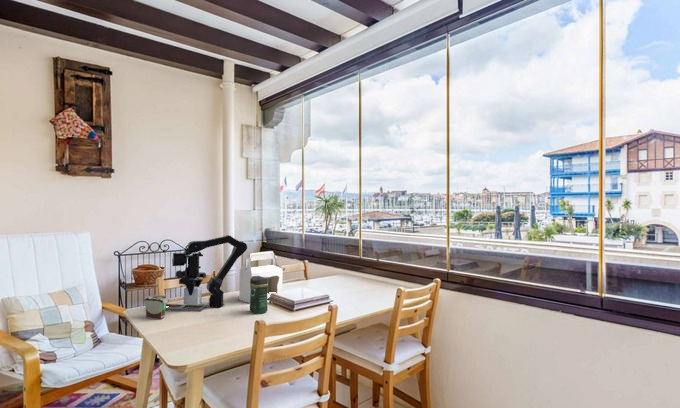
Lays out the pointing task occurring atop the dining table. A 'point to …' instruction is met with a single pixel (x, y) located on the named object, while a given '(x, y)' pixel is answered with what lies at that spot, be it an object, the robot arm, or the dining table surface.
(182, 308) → the rail
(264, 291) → the coffee jar
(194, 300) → the medicine box
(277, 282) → the gable box
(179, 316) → the dining table surface
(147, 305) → the food container
